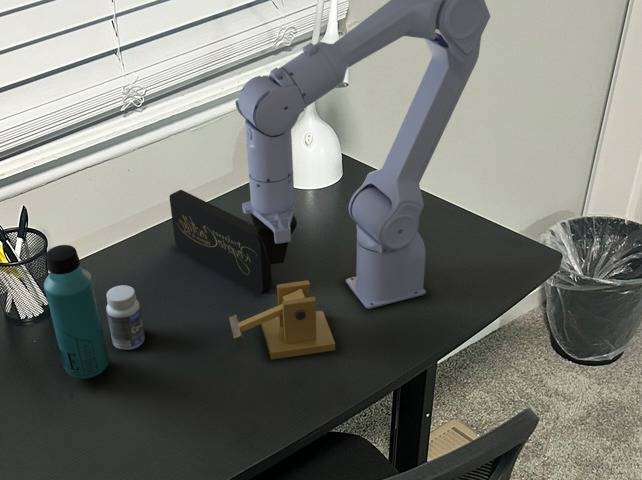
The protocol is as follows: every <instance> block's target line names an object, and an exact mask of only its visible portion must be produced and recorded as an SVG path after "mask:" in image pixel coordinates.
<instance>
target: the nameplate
mask: <svg viewBox="0 0 642 480" xmlns="http://www.w3.org/2000/svg"><path fill="white" fill-rule="evenodd" d="M169 205H170V213H171V221H172V228H173V236H174V237H173V238H174V241H175V245H176V246H177V248H178V249H179V250H182V251H183V252H185V253H187V254H189V255H190V256H193V257H194V258H196V259H197V260H199V261H200V262H201V261H202V262H203V263H205V264H206V265H208V266H210V267H212V268H214V269H216V270H218V271H219V272H221V273H223V274H225V275H226V276H227V277H230V278H232V279H234V280H235V281H237V282H239V283H241V284H243V285H244V286H246V287H248V288H250V289H251V290H252V291H256V292H257V293H259V294H261V293H263V292H265V291H267V290H268V289H270V288H271V287H272V285H273V281H272V280H273V279H272V264H271V265H270V264H269V262H268V260H267V257H266V254H265V250H264V246H263V242H262V239H261V237H260V236H259V234H258V233H257V231H256V230H255V227H254V224H252V223H250V222H248V221H247V220H244V219H242V218H240V217H238V216H236V215H234V214H233V213H230V212H228V211H226V210H223V208H220V207H217V206H216V205H214V204H211V203H209V202H207V201H206V200H204V199H202V198H200V197H198V196H195V195H193V194H191V193H189V192H188V191H185V190H183V189H179V190H176V191H175V192H172V193H171V194H169Z"/></svg>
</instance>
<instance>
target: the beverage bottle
mask: <svg viewBox="0 0 642 480" xmlns="http://www.w3.org/2000/svg"><path fill="white" fill-rule="evenodd" d="M45 258H46V259H45V260H46V268H47V271H48V272H49V274H48V275H47V276H46V278H45V280H44V281H43V289H44V292H45V295H46V299H47V302H48V303H47V305H48V309H49V313H50V320H51V321H52V324H53V325H52V326H53V328H54V332H55V337H56V342H57V344H56V345H57V347H58V351H59V356H60V358H61V359H60V361H61V363H62V366H63V369H64V371H65V372H66V373H67V374H68V375H69V376H70V377H72V378H75V379H90V378H94V377H96V376H98V375H100V374H102V373H103V372H104V371H105V370H106V369H107V368H108V364H109V361H110V359H109V351H108V346H107V340H106V336H105V333H104V329H103V325H102V321H101V316H100V312H99V309H98V305H97V300H96V295H95V290H94V285H93V284H94V283H93V278H92V274H91V273H90V272H89V271H88V270H87V269H85V268H83V267H81V266H80V265H81V261H80V258H79V254H78V252H77V249H76V247H74V246H73V245H69V244H60V245H59V244H58V245H55V246H53V247H51V248H49V250H47V252H46V253H45Z"/></svg>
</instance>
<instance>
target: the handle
mask: <svg viewBox="0 0 642 480" xmlns="http://www.w3.org/2000/svg"><path fill="white" fill-rule="evenodd" d="M301 298H306V297H305V295H304V293H303V291H302V289H299V290H297V291H294V292H292V293H290V294H288V295H285V296H283V299H284V301H287V300H294V299H301ZM281 315H283V306H282V304H281V305H278V304H277V305H276V306H274V307H271V308H269V309H267V310H265V311H263V312H262V311H261V312H260V313H258V314H255V315H253V316H251V317H249V318H246V319H244V320H242V321H240V319H239V316H238V315H237V314H233V315H232V316H229V317H228V319H229V323H230V329H231V332H232V336H233V340H234V341H235V343H236V344H237V345H238V344H240V343H242V342H245V338H244V335H243V332H246V331H248V330H250V329H253V328H255V327H257V326H261V324H262V323H264V322H267V321H269V320H271V319H274V318H276V317H279V316H281Z"/></svg>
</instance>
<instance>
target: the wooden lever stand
mask: <svg viewBox="0 0 642 480" xmlns="http://www.w3.org/2000/svg"><path fill="white" fill-rule="evenodd" d="M299 289H302V291H303V293H304V295H305V297H306V298H301V299H294V300H287V301H284V299H283V296H285V295H288V294H290V293H292V292H294V291H297V290H299ZM276 292H277V293H276V294H277V306H278V305H281V304H282V306H283V315H281V316H278V317H276V318H274V319H271V320H269V321H267V322H264V323H262V324H260V326H261V329H262V333H263V335H264V339H265V344H266V347H267V350H268V354H269V357H270V360H278V359H285V358H292V357H299V356H305V355H313V354H320V353H326V352H333V351H336V342H335V339H334V336H333V333H332V331H331V329H330V325H329V322H328V320H327V318H326V315H325V313H324V310H317V301H316V297H315V296H311V284H310V281H309V280H308V279H307V280H300V281H293V282H287V283H280V284H276Z"/></svg>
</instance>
